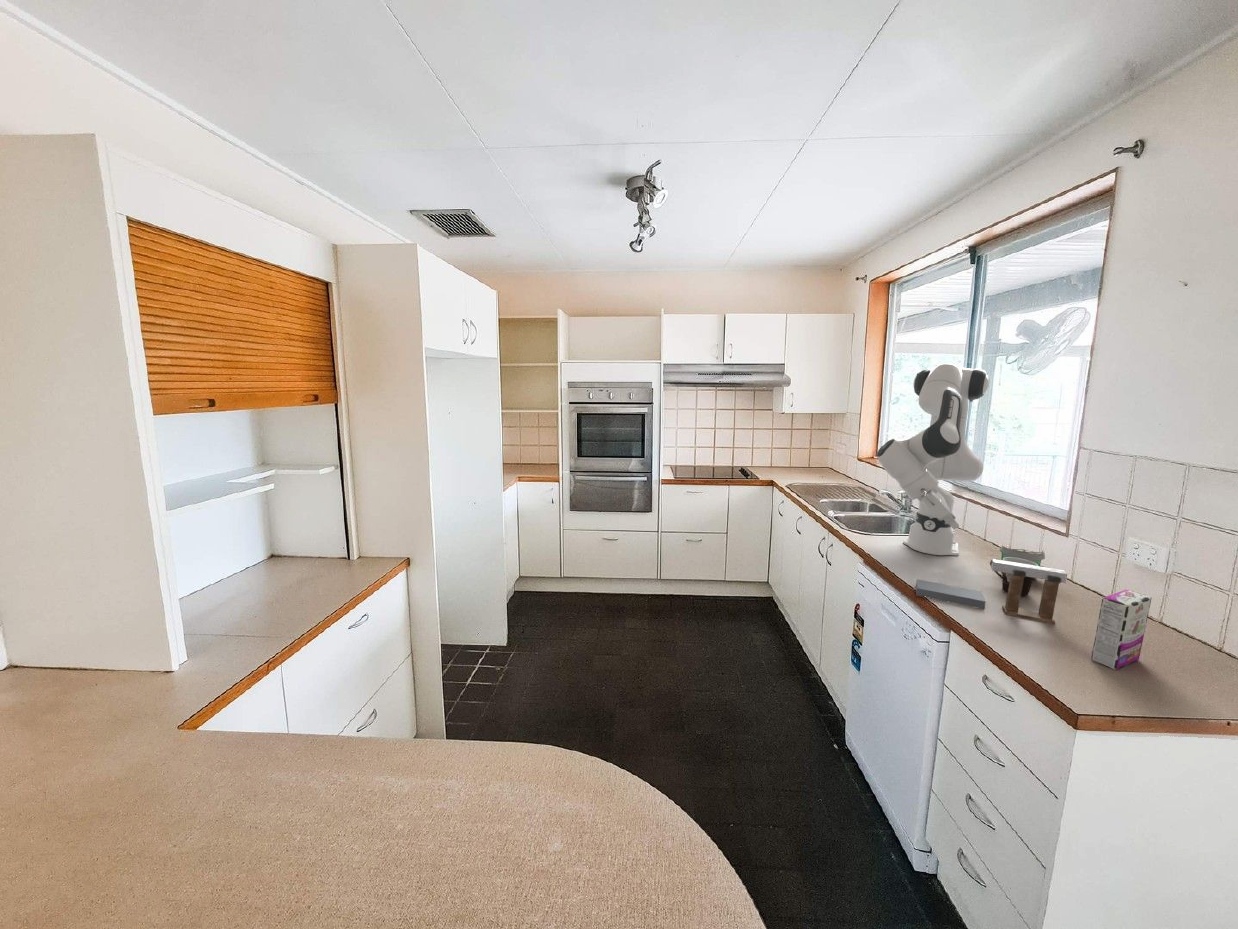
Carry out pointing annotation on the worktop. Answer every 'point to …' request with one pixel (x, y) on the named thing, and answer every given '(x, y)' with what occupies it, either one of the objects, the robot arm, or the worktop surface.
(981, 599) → the board
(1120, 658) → the candy bar box
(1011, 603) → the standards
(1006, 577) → the coffee mug
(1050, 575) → the rail
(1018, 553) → the food container
